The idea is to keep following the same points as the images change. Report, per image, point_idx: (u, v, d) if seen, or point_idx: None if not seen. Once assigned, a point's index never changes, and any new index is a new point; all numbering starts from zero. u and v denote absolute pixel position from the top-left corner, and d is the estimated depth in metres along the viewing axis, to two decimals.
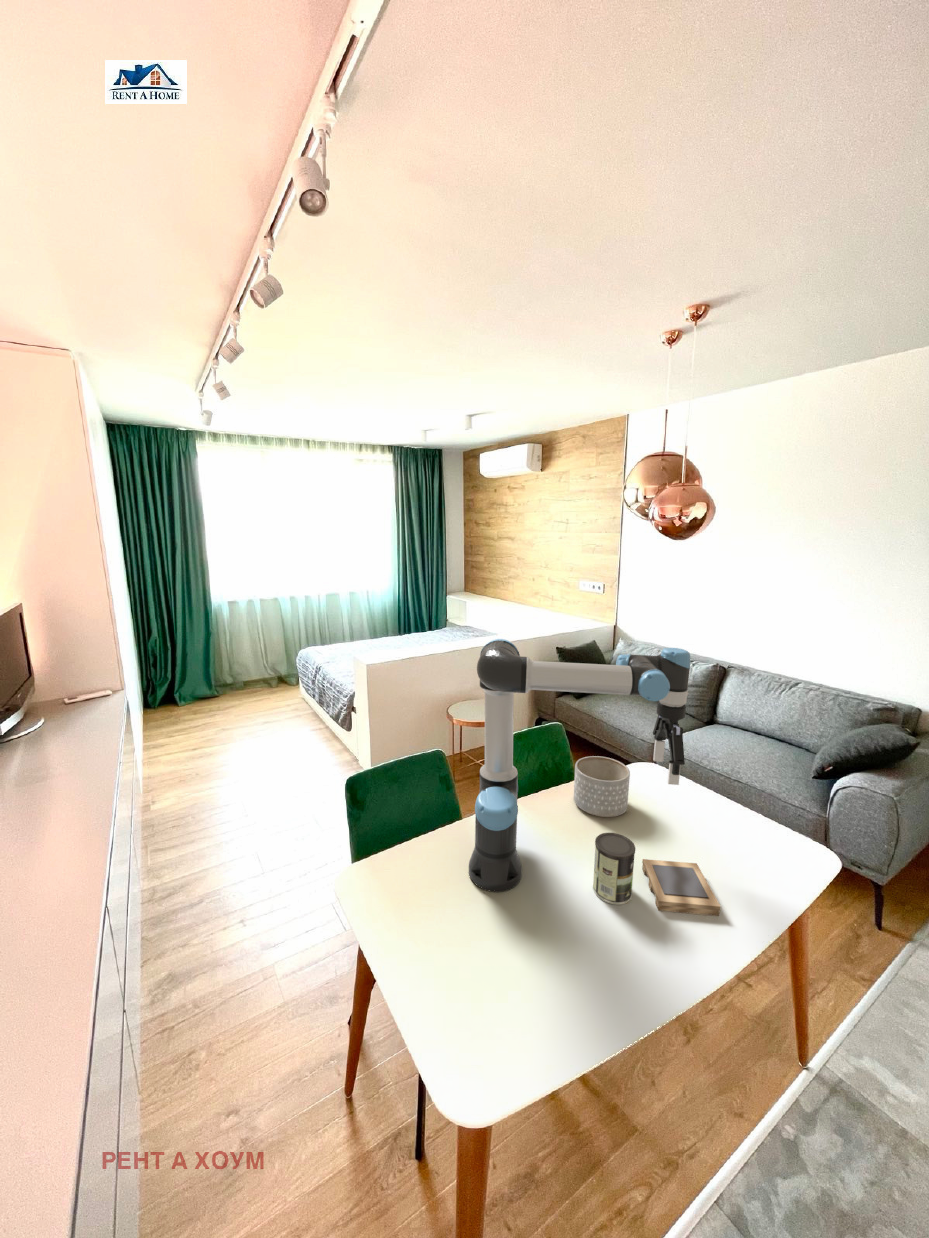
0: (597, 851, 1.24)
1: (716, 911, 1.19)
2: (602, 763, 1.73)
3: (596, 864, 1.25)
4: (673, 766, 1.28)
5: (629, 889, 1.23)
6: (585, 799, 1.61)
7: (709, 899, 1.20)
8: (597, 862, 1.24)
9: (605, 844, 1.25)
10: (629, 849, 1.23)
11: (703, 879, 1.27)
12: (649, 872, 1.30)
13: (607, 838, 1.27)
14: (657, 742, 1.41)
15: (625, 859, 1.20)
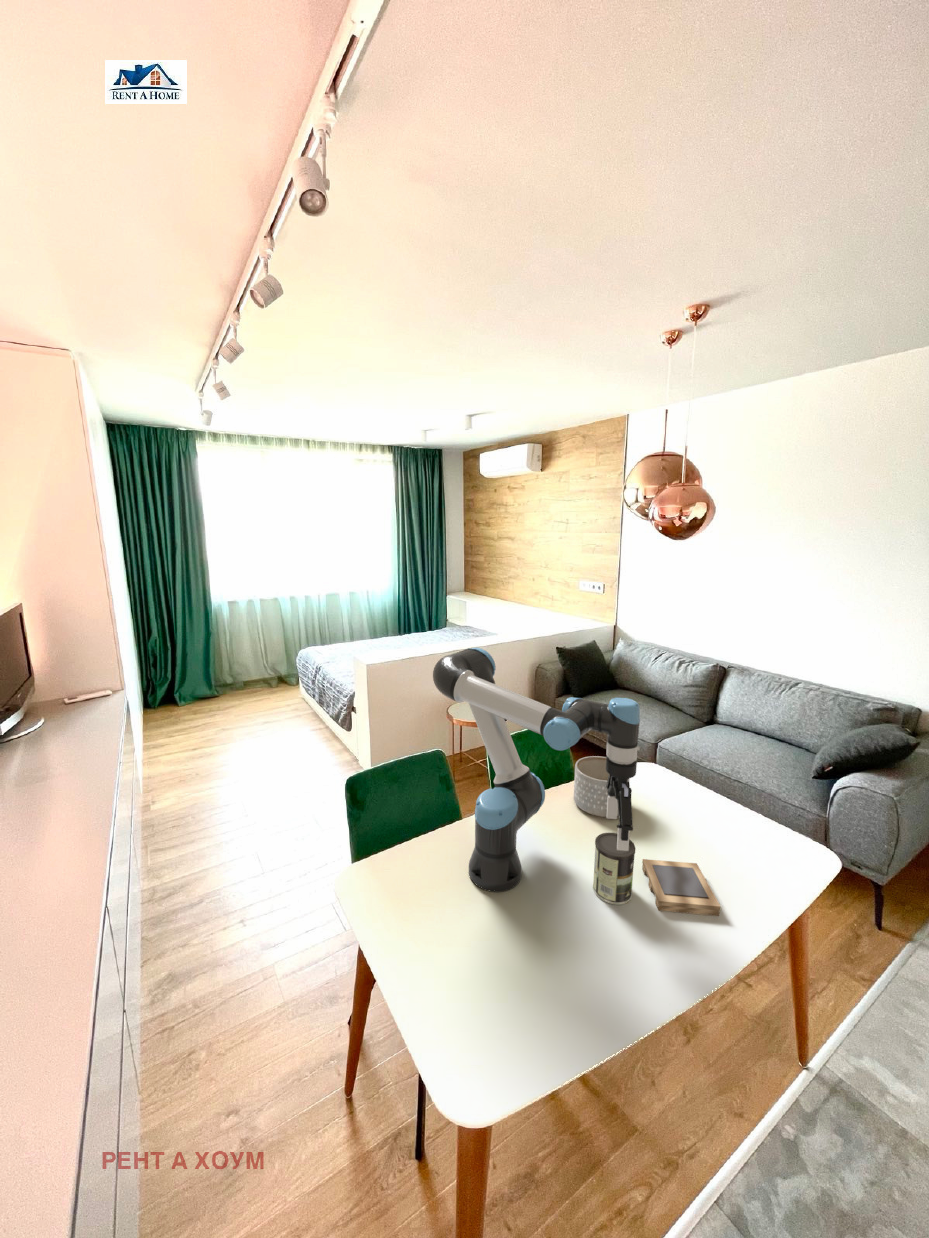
0: (597, 851, 1.24)
1: (716, 911, 1.19)
2: (602, 763, 1.73)
3: (596, 864, 1.25)
4: (622, 830, 1.15)
5: (629, 889, 1.23)
6: (585, 799, 1.61)
7: (709, 899, 1.20)
8: (597, 862, 1.24)
9: (605, 844, 1.25)
10: (629, 849, 1.23)
11: (703, 879, 1.27)
12: (649, 872, 1.30)
13: (607, 838, 1.27)
14: (610, 798, 1.29)
15: (625, 859, 1.20)
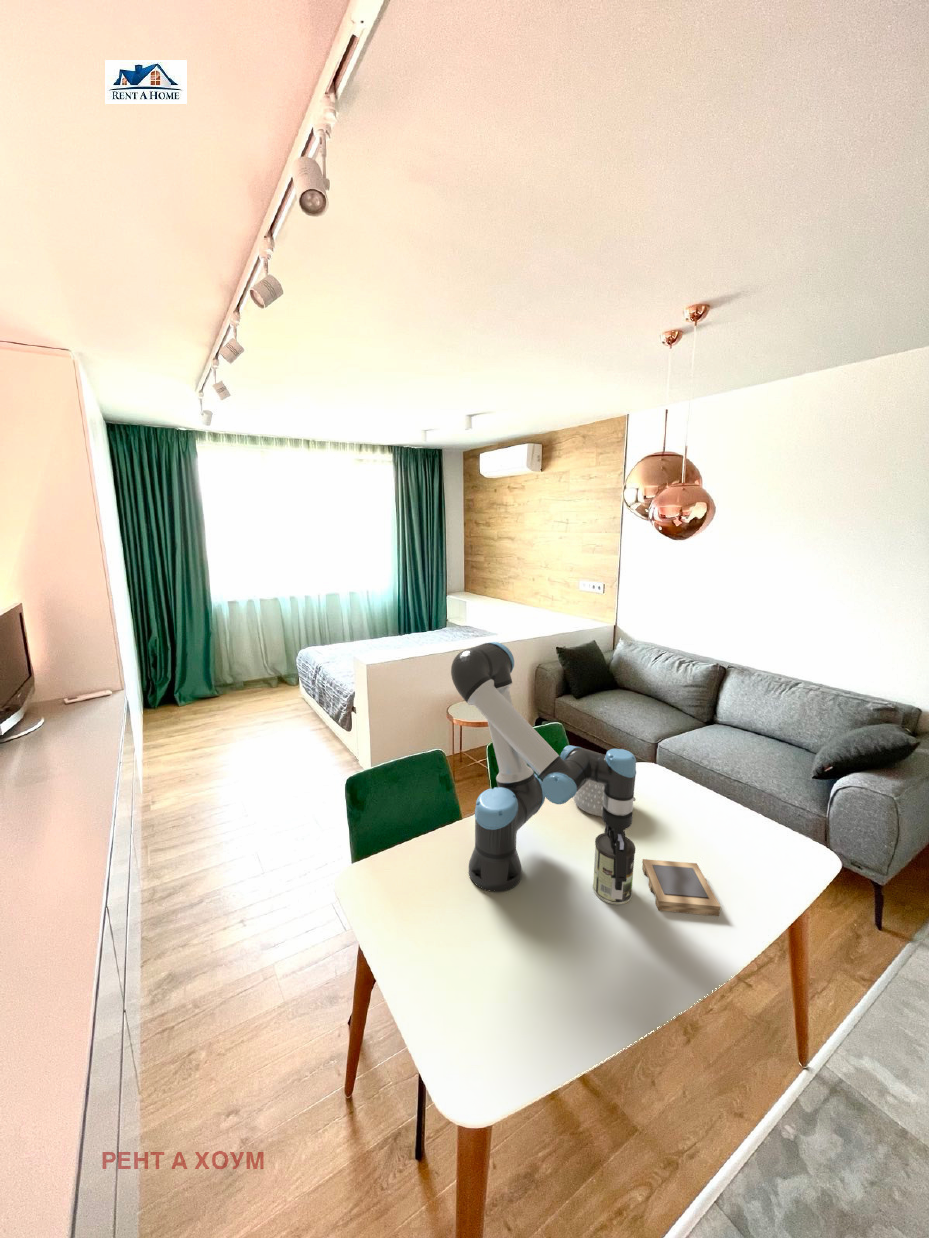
0: (597, 851, 1.24)
1: (716, 911, 1.19)
2: None
3: (596, 864, 1.25)
4: (616, 880, 1.20)
5: (629, 889, 1.23)
6: (585, 799, 1.61)
7: (709, 899, 1.20)
8: (597, 862, 1.24)
9: (605, 844, 1.25)
10: (629, 849, 1.23)
11: (703, 879, 1.27)
12: (649, 872, 1.30)
13: (607, 838, 1.27)
14: None
15: None
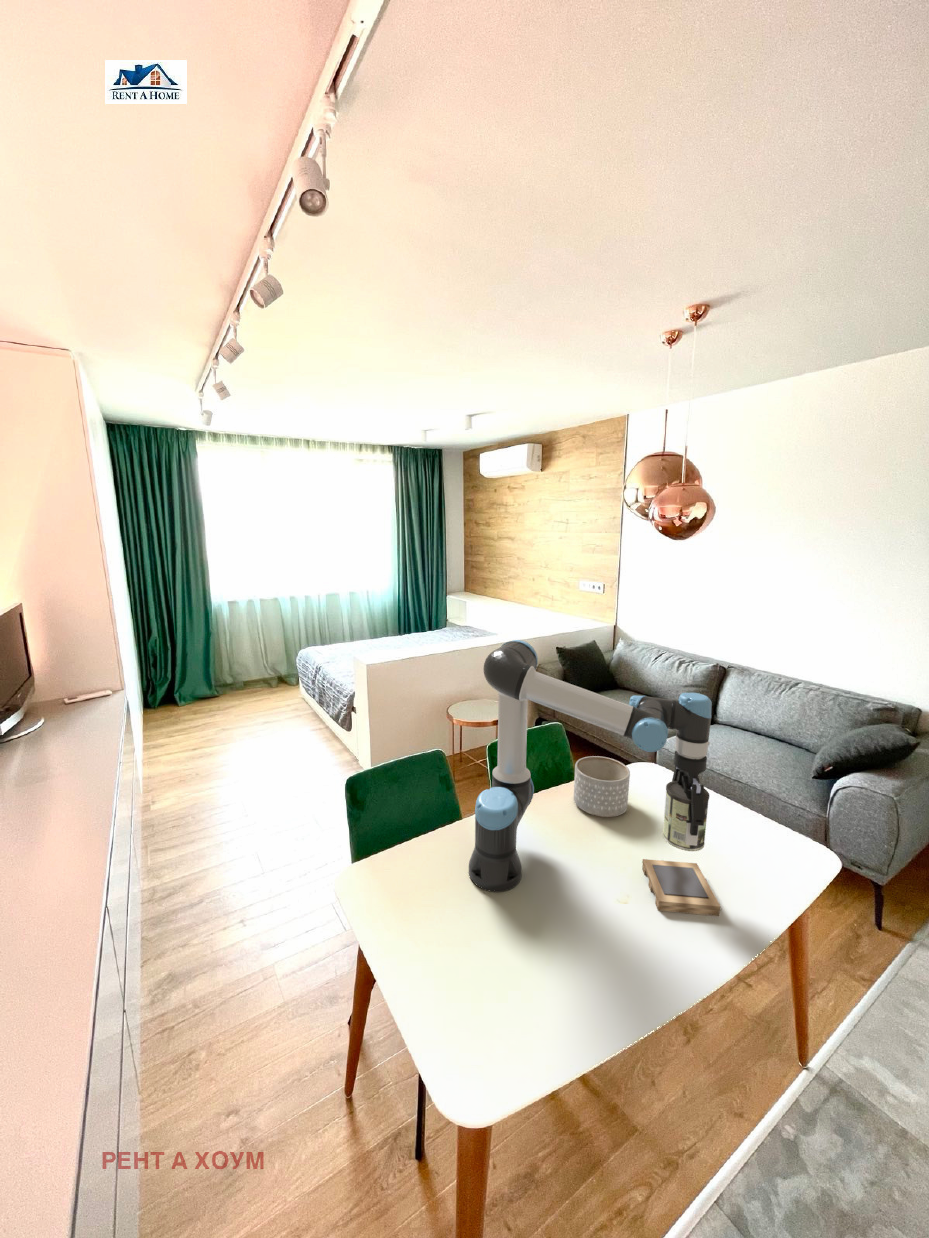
0: (669, 797, 1.21)
1: (716, 911, 1.19)
2: (602, 763, 1.73)
3: (668, 811, 1.22)
4: (691, 825, 1.17)
5: (703, 835, 1.20)
6: (585, 799, 1.61)
7: (709, 899, 1.20)
8: (669, 808, 1.22)
9: (677, 790, 1.22)
10: (703, 795, 1.20)
11: (703, 879, 1.27)
12: (649, 872, 1.30)
13: (678, 785, 1.25)
14: None
15: None
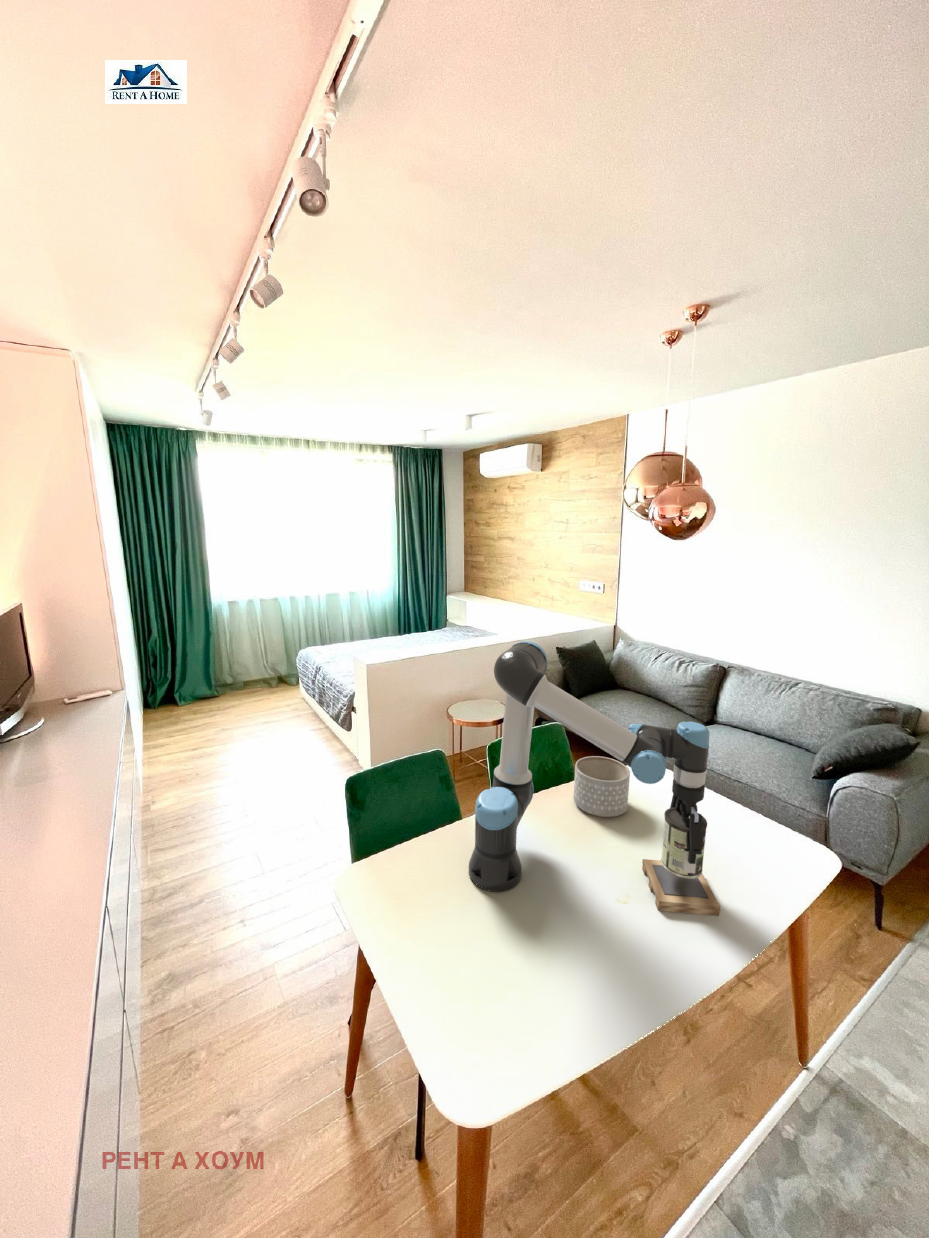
0: (668, 825, 1.23)
1: (716, 911, 1.19)
2: (602, 763, 1.73)
3: (666, 838, 1.24)
4: (689, 854, 1.18)
5: (701, 863, 1.21)
6: (585, 799, 1.61)
7: (709, 899, 1.20)
8: (667, 836, 1.23)
9: (675, 818, 1.23)
10: (701, 823, 1.21)
11: (703, 879, 1.27)
12: (649, 872, 1.30)
13: (676, 812, 1.26)
14: None
15: None
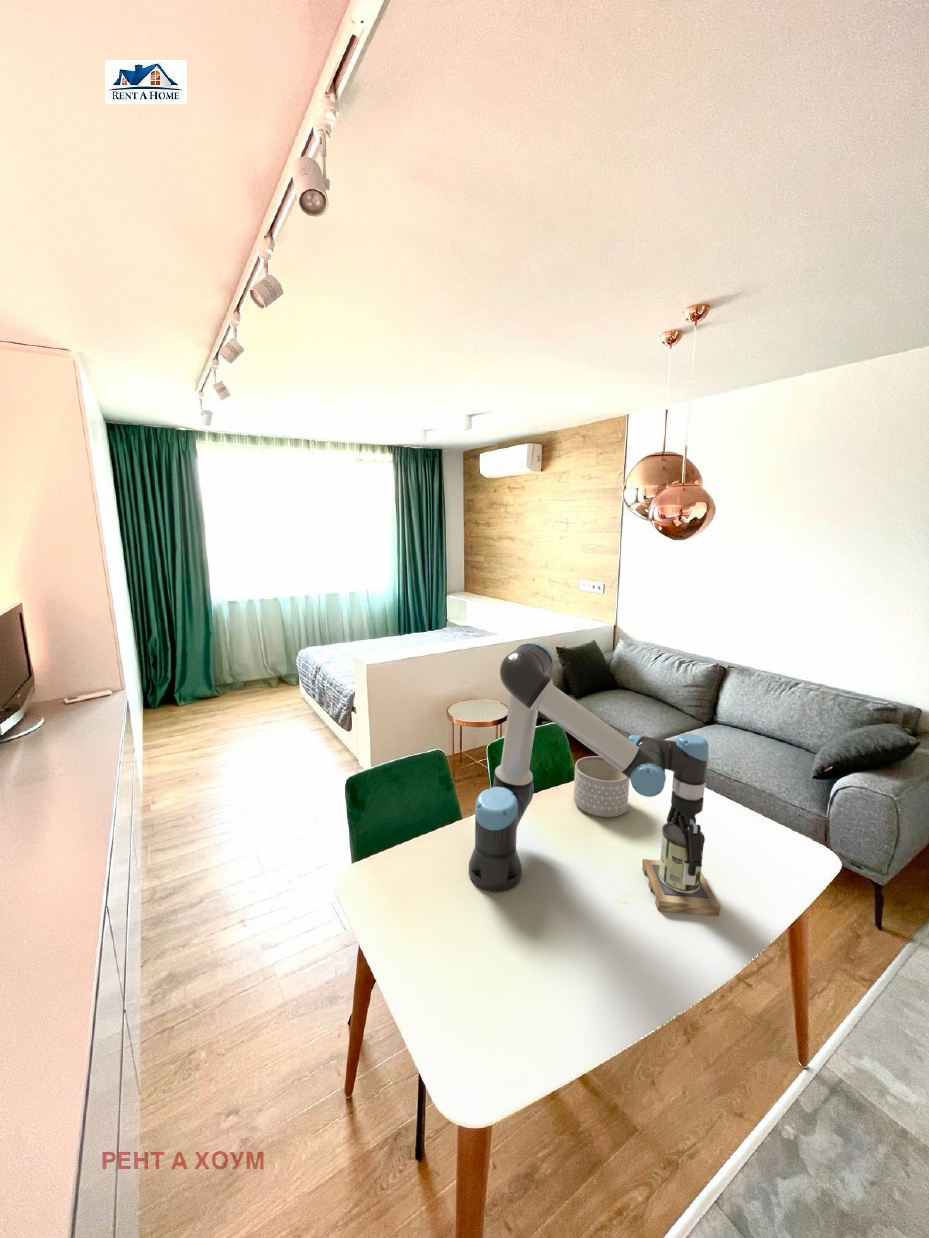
0: (666, 840, 1.24)
1: (716, 911, 1.19)
2: (602, 763, 1.73)
3: (664, 853, 1.24)
4: (689, 866, 1.18)
5: (698, 878, 1.22)
6: (585, 799, 1.61)
7: (709, 899, 1.20)
8: (665, 851, 1.24)
9: (673, 833, 1.24)
10: None
11: (703, 879, 1.27)
12: (649, 872, 1.30)
13: (674, 827, 1.27)
14: None
15: None
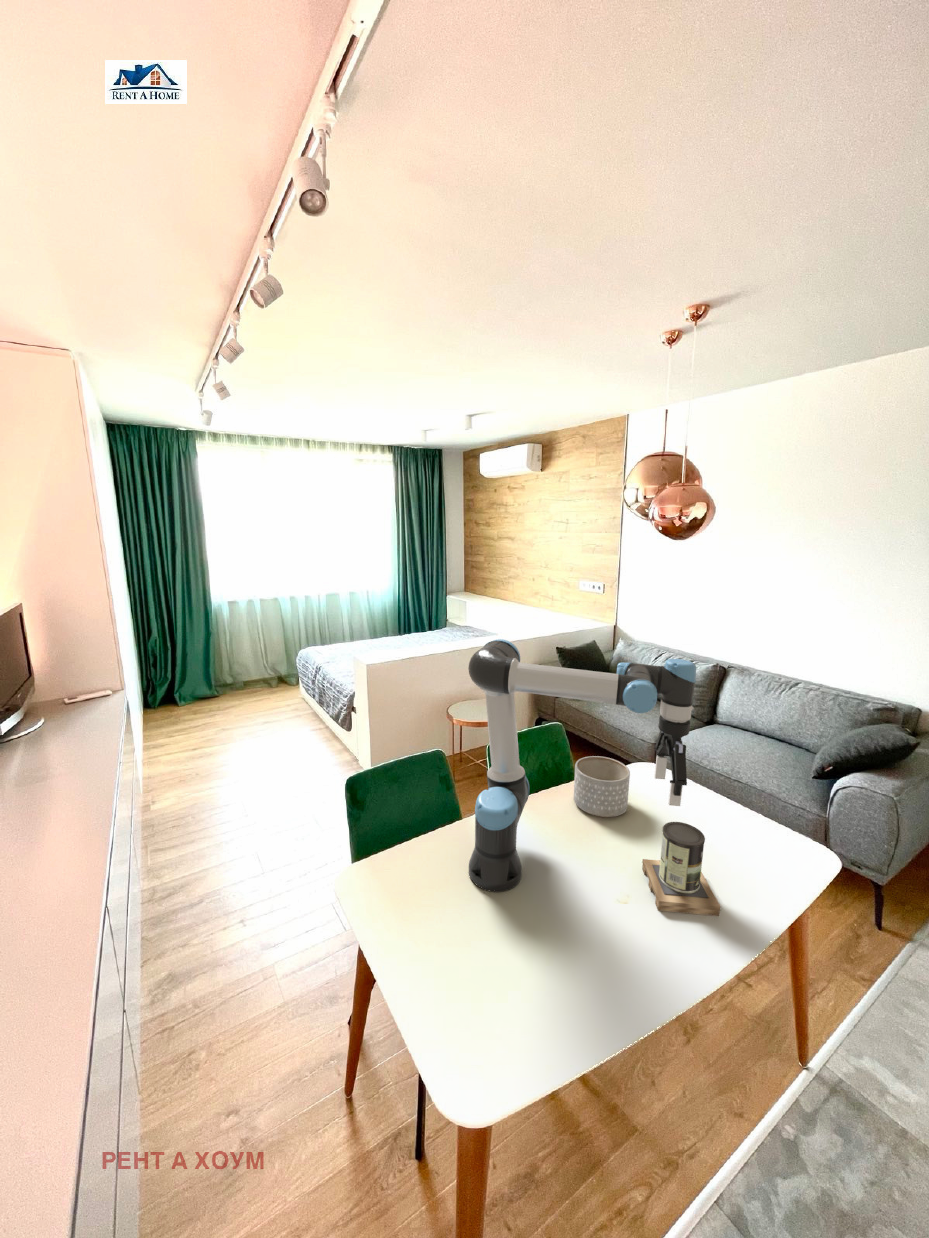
0: (666, 840, 1.24)
1: (716, 911, 1.19)
2: (602, 763, 1.73)
3: (664, 853, 1.24)
4: (675, 786, 1.19)
5: (698, 878, 1.22)
6: (585, 799, 1.61)
7: (709, 899, 1.20)
8: (665, 851, 1.24)
9: (673, 833, 1.24)
10: (699, 838, 1.22)
11: (703, 879, 1.27)
12: (649, 872, 1.30)
13: (674, 827, 1.27)
14: (659, 758, 1.33)
15: (696, 848, 1.20)
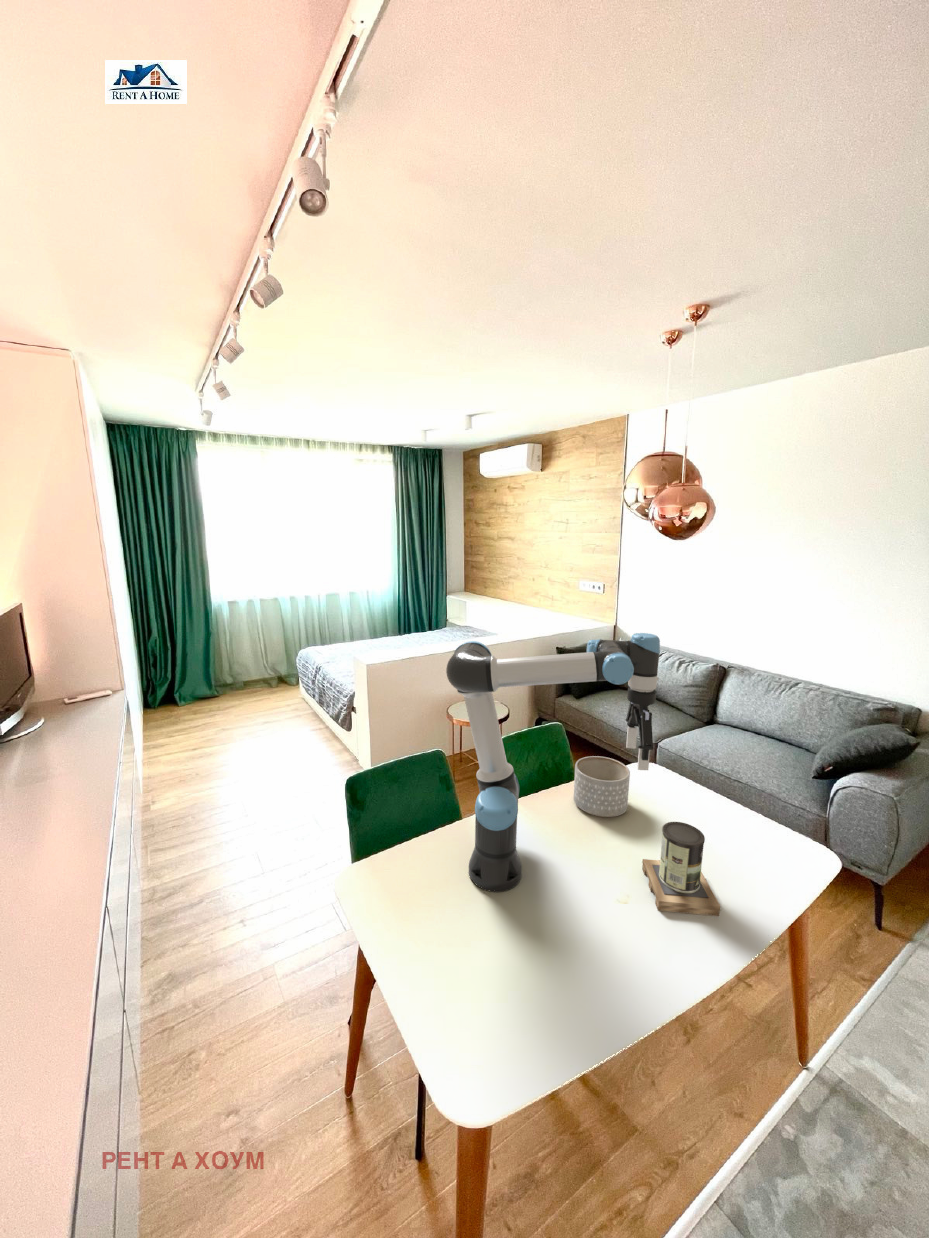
0: (666, 840, 1.24)
1: (716, 911, 1.19)
2: (602, 763, 1.73)
3: (664, 853, 1.24)
4: (642, 751, 1.27)
5: (698, 878, 1.22)
6: (585, 799, 1.61)
7: (709, 899, 1.20)
8: (665, 851, 1.24)
9: (673, 833, 1.24)
10: (698, 838, 1.22)
11: (703, 879, 1.27)
12: (649, 872, 1.30)
13: (674, 827, 1.27)
14: (629, 729, 1.41)
15: (696, 847, 1.20)
